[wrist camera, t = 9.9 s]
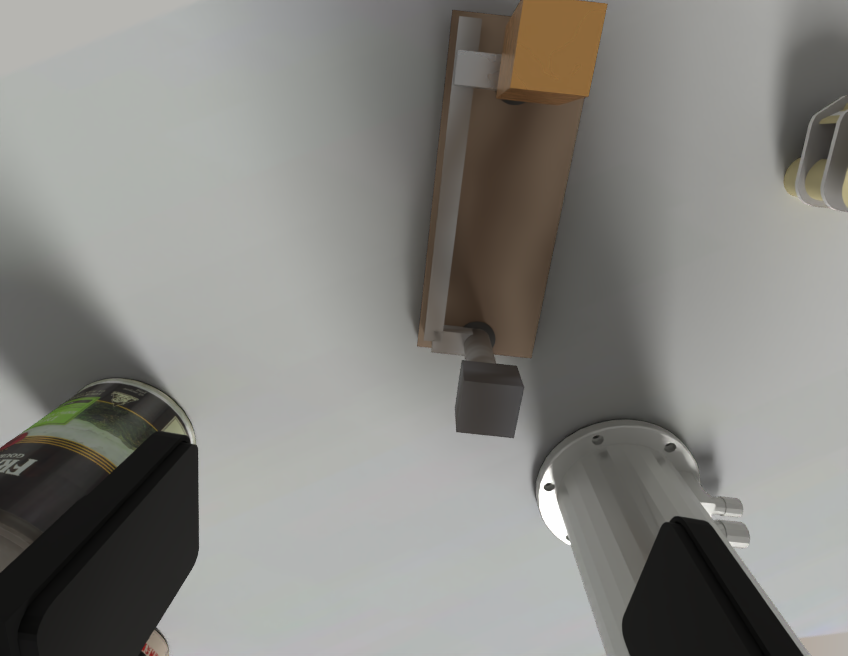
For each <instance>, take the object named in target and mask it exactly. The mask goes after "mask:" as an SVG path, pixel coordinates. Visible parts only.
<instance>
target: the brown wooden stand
mask: <svg viewBox="0 0 848 656" xmlns="http://www.w3.org/2000/svg"><path fill="white" fill-rule="evenodd" d="M510 18H511V16H502V15H493V14H484V13H475V12H466V11H457V10H452V19H451V29H450V39H449V48H448V58H447V67H446V77H445V86H444V96H443V105H442V115H441V124H440V134H439V143H438V153H437V162H436V172H435V181H434V191H433V200H432V210H431V219H430V229H429V238H428V248H427V257H426V267H425V276H424V286H423V295H422V305H421V314H420V324H419V333H418V343H417V346H419V347H429V348H432V351H431V352H433V353H443V354H452V355H462V356H465V359H466V360H462V363H461V369H460V376H459V383H458V390H457V397H456V404H455V418H456V432H461V433H470V434H480V435H489V436H499V437H509V438H514V435H515V430H516V425H517V420H518V415H519V410H520V405H521V400H522V395H523V390H524V385H523V382H522V380H521V377H520V374H519V371H518V368H517V366H513V365H504V364H496V361H495V357H494V354H495V355H505V356H514V357H524V358H531V357H532V352H533V347H534V343H535V338H536V333H537V328H538V323H539V318H540V313H541V308H542V303H543V298H544V293H545V289H546V284H547V279H548V274H549V269H550V264H551V259H552V254H553V249H554V244H555V239H556V234H557V230H558V225H559V220H560V215H561V210H562V205H563V200H564V195H565V190H566V185H567V180H568V176H569V171H570V166H571V161H572V156H573V151H574V146H575V141H576V136H577V131H578V126H579V122H580V117H581V112H582V107H583V102H584V98H582V99H578V100H575V101H572V102H568V103H565V104H562V105H549V104H539V103H530V102H521V101H512V100H503V99H496V93H497V91H495V90H486V89H477V88H468V87H459V86H454V79H455V70H456V61H457V52H458V50H466V51H475V52H484V53H493V54H502V51H503V44H504V37H505V29H506V25H507V23H508V22H509V20H510Z"/></svg>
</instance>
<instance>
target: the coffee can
mask: <svg viewBox="0 0 848 656" xmlns="http://www.w3.org/2000/svg"><path fill="white" fill-rule="evenodd" d="M156 431H164V432H170V433H176V434H182V435H187V436H189V438H190V441H191V444H195V445H196V440H195V435H194V431H193V428H192V425H191V423H190V421H189V419H188V418H187V416H186V415H185V413H184V411H183V410H182V409H181V408H180V407H179V406H178V405H177V404H176V403H175V402H174V401H173V400H172V399H171V398H169V397H168V396H167V395H166V394H164V393H163V392H161V391H159V390H158V389H156V388H154V387H152V386H150V385H147V384H145V383H142V382H139V381H136V380H130V379H122V378H111V379H104V380H100V381H96V382H93V383H91V384H89V385H87V386H86V387H84V388H83V389H82V390H80V391H79V392H78V393H77V394H76V395H75V396H74V397H72V398H71V399H69V400H68V401H66V402H65V403H63V404H62V405H60V406H59V407H58V408H56V409H55V410H54V411H52V412H51V413H49V414H48V415H46V416H45V417H44V418H42V419H41V420H39V421H38V422H37V423H35V424H34V425H32V426H31V427H29V428H28V429H27V430H25V431H24V432H22V433H21V434H19V435H18V436H17V437H15V438H14V439H12V440H11V441H9V442H8V443H6V444H5V445H4V446H2V447H1V448H0V573H1V572H2V571H3V570H4V569H5V568H6V567H7V566H8V565H9V564H10V563H11V562H12V561H14V560H15V559H16V558H17V557H18V556H19V555H20V554H21V553H22V552H23V551H24V550H25V549H26V548H27V547H29V546H30V545H31V544H32V543H33V542H34V541H35V540H36V539H37V538H38V537H39V536H40V535H41V534H42V533H44V532H45V531H46V530H47V529H48V528H49V527H50V526H51V525H52V524H53V523H54V522H55V521H56V520H58V519H59V518H60V517H61V516H62V515H63V514H64V513H65V512H66V511H67V510H68V509H69V508H70V507H71V506H73V505H74V504H75V503H76V502H77V501H78V500H79V499H81V498H82V497H84V496H85V495H88V494H89V493H90V492H91V491H92V490H93V489H94V488H95V487H96V486H98V485H99V484H100V483H101V482H102V481H103V480H104V479H105V478H106V477H107V476H108V475H109V474H110V473H111V472H112V471H113V470H115V469H116V468H117V467H118V466H119V465H120V464H121V463H122V462H123V461H124V460H125V459H126V458H127V457H128V456H129V455H130V454H132V453H133V452H134V451H135V450H136V449H137V448H138V447H139V446H140V445H141V444H142V443H143V442H144V441H145V440H146V439H147V438H149V437H150V436H151V435H152V434H153V433H154V432H156Z"/></svg>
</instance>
